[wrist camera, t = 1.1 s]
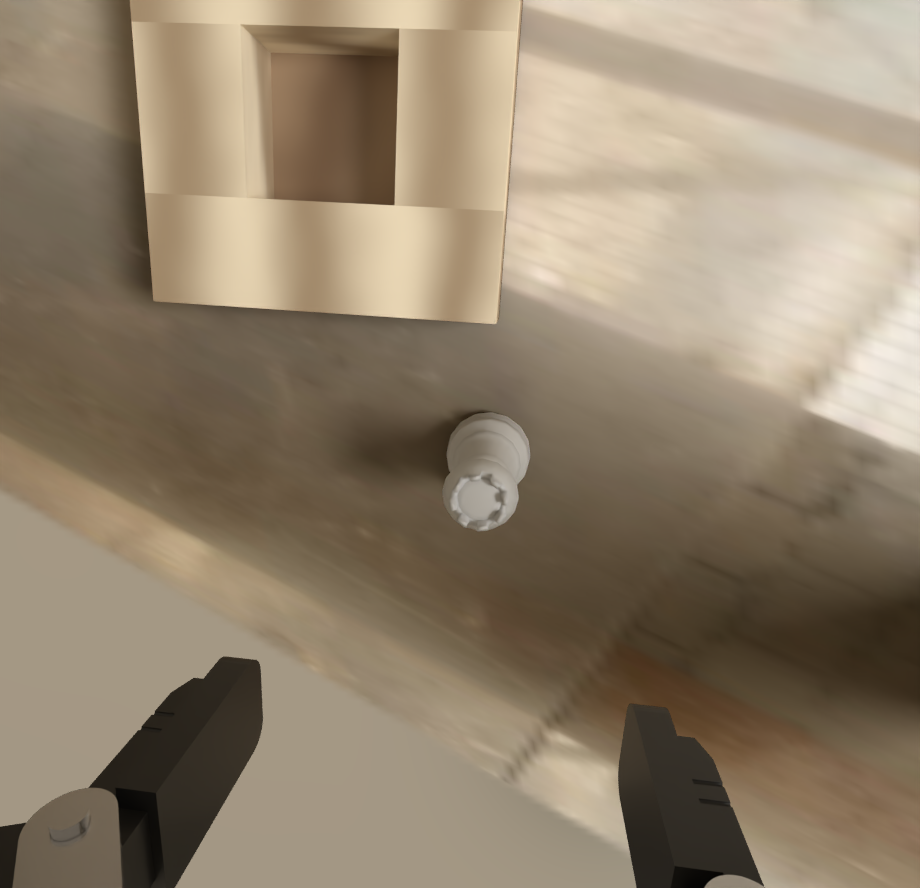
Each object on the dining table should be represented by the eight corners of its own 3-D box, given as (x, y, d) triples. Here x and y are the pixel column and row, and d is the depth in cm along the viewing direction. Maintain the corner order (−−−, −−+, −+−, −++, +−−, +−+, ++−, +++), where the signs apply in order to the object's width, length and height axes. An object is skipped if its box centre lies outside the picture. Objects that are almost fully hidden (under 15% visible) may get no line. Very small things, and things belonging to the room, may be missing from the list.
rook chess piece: (446, 485, 32) (422, 547, 25) (450, 407, 31) (427, 446, 24) (526, 492, 32) (528, 557, 24) (533, 413, 31) (538, 455, 23)
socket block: (527, -54, 25) (527, -115, 22) (498, 319, 30) (495, 324, 26) (177, -59, 27) (120, -117, 23) (199, 299, 31) (153, 301, 27)
